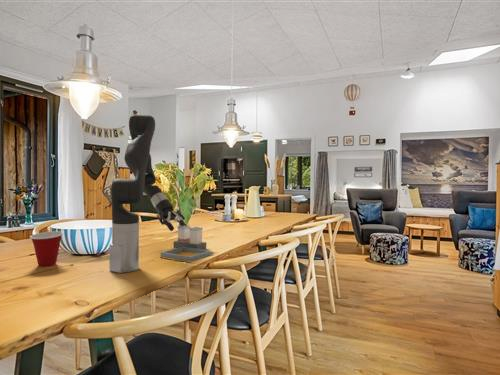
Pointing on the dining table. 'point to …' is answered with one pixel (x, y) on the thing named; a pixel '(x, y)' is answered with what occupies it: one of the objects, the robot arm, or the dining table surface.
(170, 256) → the tray
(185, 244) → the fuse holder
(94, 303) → the dining table surface
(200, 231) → the block
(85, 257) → the dining table surface
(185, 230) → the block
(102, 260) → the dining table surface
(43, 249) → the plastic cup
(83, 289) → the dining table surface
